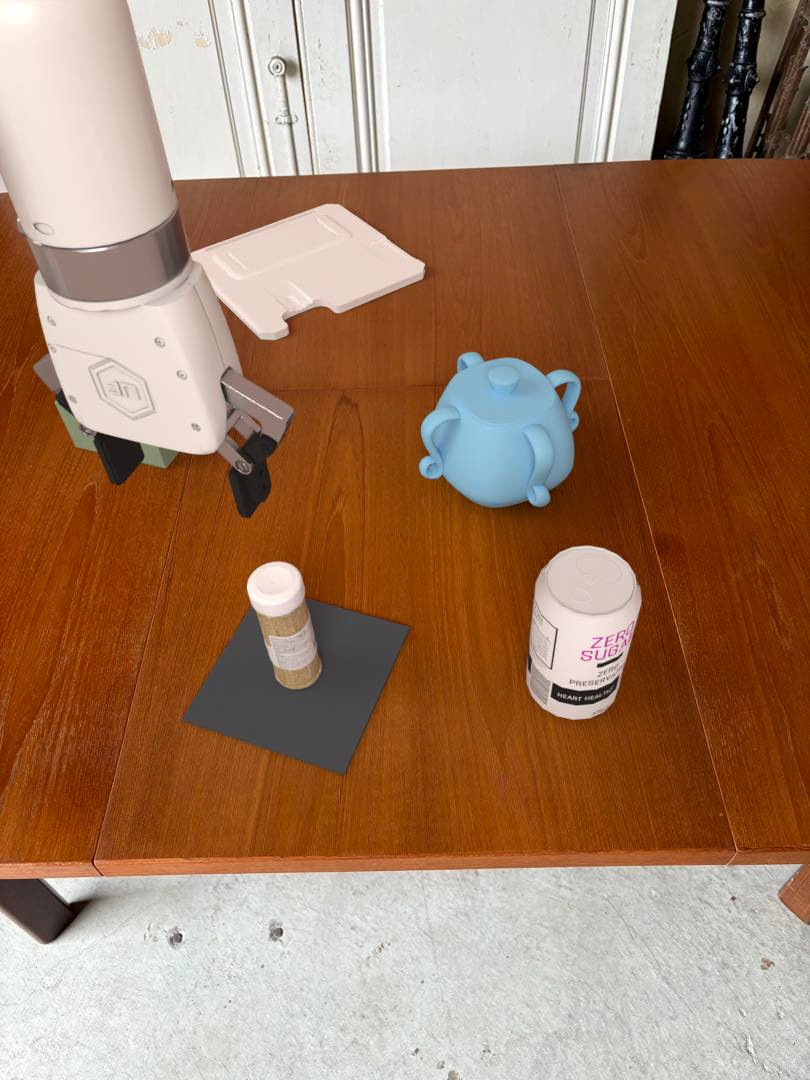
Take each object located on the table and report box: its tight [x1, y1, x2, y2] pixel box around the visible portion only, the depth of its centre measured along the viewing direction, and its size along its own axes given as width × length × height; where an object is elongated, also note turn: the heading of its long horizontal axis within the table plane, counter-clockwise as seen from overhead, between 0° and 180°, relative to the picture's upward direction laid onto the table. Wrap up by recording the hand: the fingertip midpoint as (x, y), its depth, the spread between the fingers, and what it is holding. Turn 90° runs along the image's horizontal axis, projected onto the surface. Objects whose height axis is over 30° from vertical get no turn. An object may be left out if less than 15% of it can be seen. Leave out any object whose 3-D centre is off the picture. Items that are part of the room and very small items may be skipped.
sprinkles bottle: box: [246, 560, 322, 689], centre depth 71 cm, size 5×5×13 cm
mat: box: [181, 597, 411, 776], centre depth 76 cm, size 16×16×1 cm
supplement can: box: [525, 545, 643, 721], centre depth 68 cm, size 8×8×15 cm
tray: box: [190, 203, 426, 341], centre depth 124 cm, size 28×28×2 cm
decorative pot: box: [418, 351, 582, 509], centre depth 88 cm, size 16×16×14 cm
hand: (190, 486), depth 54 cm, fingers open, 9 cm apart
